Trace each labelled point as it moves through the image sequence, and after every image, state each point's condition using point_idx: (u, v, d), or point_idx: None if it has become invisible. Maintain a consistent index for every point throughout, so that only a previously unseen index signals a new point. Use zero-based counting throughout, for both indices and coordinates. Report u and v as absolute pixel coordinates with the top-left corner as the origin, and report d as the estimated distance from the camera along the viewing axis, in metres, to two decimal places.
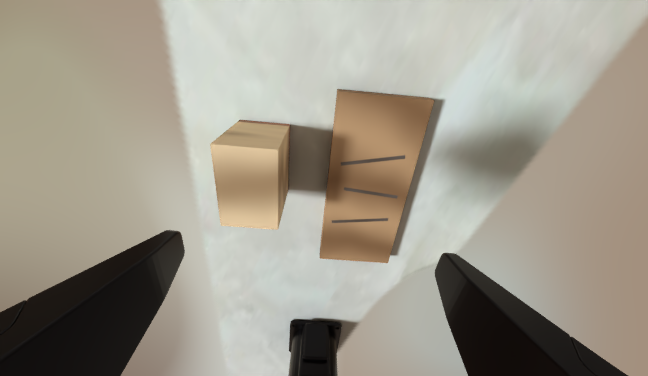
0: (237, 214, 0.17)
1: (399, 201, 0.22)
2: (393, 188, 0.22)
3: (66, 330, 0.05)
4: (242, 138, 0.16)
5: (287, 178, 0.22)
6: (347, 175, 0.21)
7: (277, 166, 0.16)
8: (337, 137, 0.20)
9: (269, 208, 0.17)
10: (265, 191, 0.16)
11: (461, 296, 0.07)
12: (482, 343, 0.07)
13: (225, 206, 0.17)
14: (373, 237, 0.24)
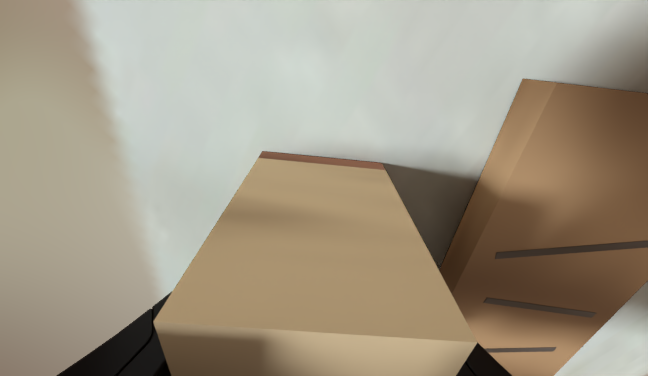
0: None
1: (593, 321, 0.11)
2: (592, 300, 0.10)
3: None
4: (291, 248, 0.04)
5: None
6: (502, 277, 0.09)
7: None
8: (509, 200, 0.08)
9: None
10: None
11: None
12: None
13: None
14: (512, 373, 0.12)
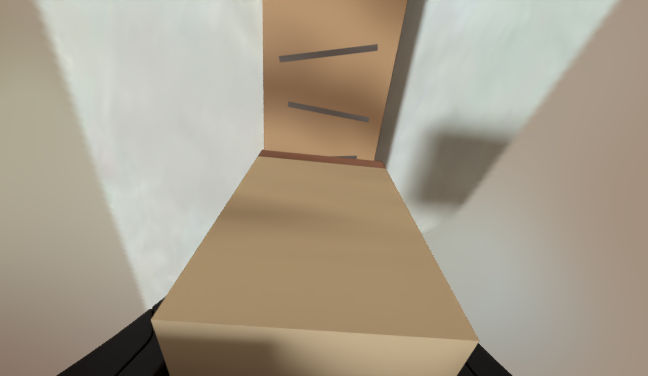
0: None
1: (372, 127, 0.15)
2: (361, 104, 0.14)
3: None
4: (291, 246, 0.04)
5: None
6: (291, 80, 0.14)
7: None
8: (269, 8, 0.12)
9: None
10: None
11: None
12: None
13: None
14: None
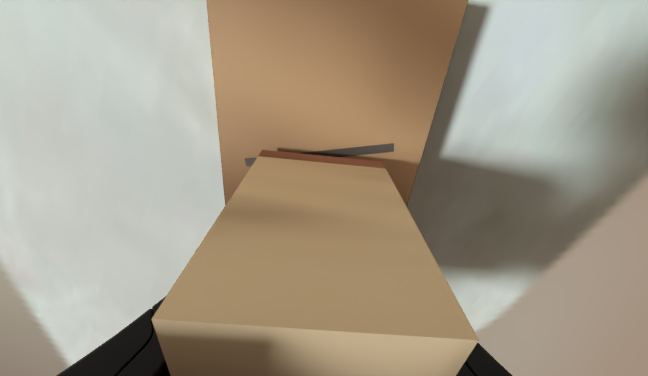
0: None
1: None
2: None
3: None
4: (290, 246, 0.04)
5: None
6: None
7: None
8: (226, 96, 0.08)
9: None
10: None
11: None
12: None
13: None
14: None
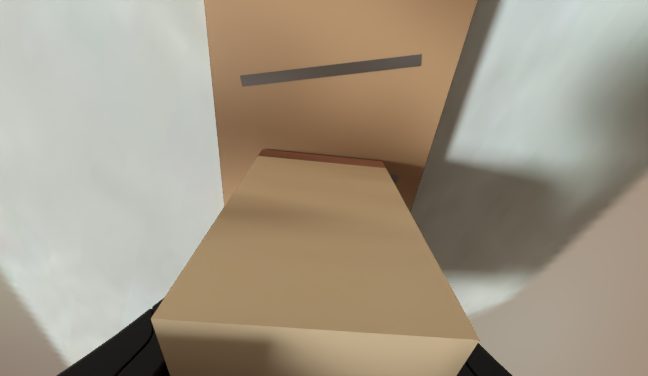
0: None
1: (402, 190, 0.09)
2: (386, 155, 0.08)
3: None
4: (290, 245, 0.04)
5: None
6: (265, 117, 0.08)
7: None
8: None
9: None
10: None
11: None
12: None
13: None
14: None
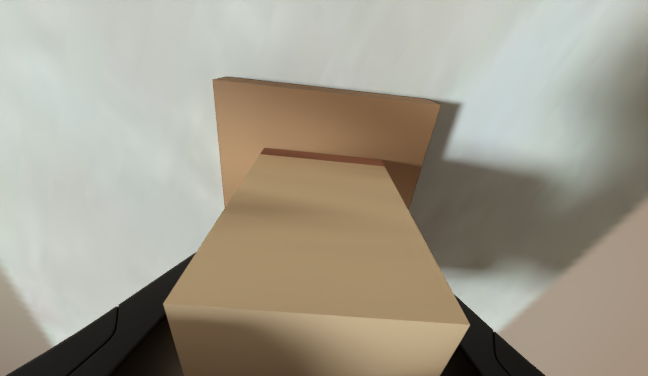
0: None
1: None
2: None
3: (160, 336, 0.05)
4: (292, 238, 0.05)
5: None
6: None
7: (438, 365, 0.04)
8: (231, 180, 0.09)
9: None
10: None
11: None
12: None
13: None
14: None
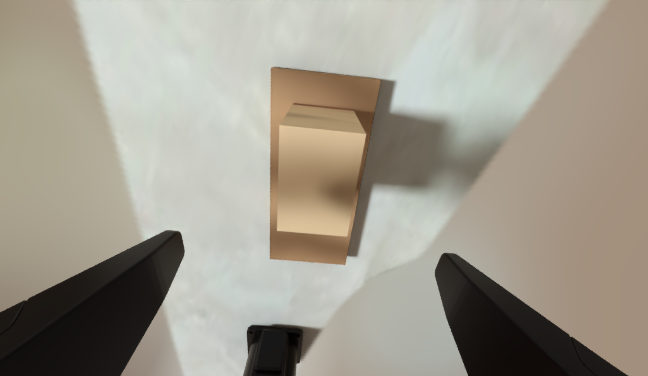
0: (299, 217, 0.14)
1: None
2: None
3: (66, 330, 0.05)
4: (312, 120, 0.13)
5: None
6: None
7: (360, 156, 0.12)
8: (275, 121, 0.17)
9: (341, 210, 0.14)
10: (339, 189, 0.13)
11: (461, 296, 0.07)
12: (482, 343, 0.07)
13: (286, 207, 0.13)
14: (326, 236, 0.22)
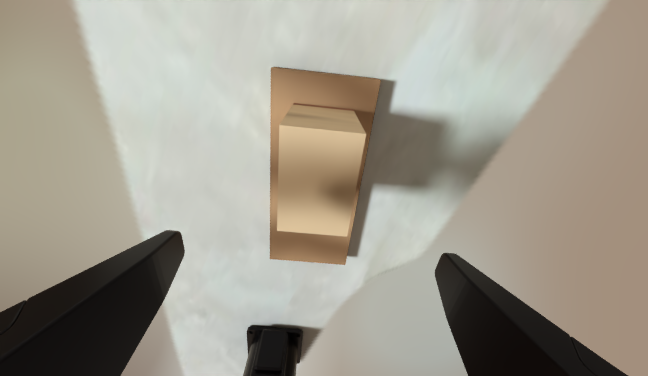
0: (299, 217, 0.14)
1: None
2: None
3: (66, 330, 0.05)
4: (312, 120, 0.13)
5: None
6: None
7: (360, 156, 0.12)
8: (275, 121, 0.17)
9: (341, 210, 0.14)
10: (339, 189, 0.13)
11: (461, 296, 0.07)
12: (482, 343, 0.07)
13: (286, 207, 0.13)
14: (326, 236, 0.22)
